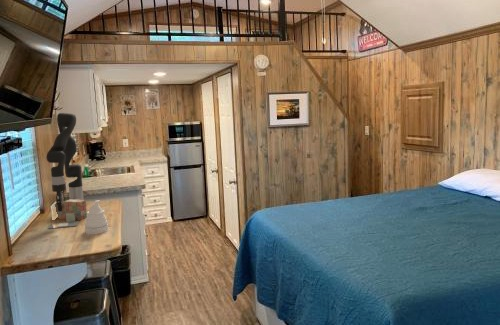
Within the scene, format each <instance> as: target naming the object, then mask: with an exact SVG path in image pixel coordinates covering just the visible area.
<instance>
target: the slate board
mask: <svg viewBox="0 0 500 325" xmlns="http://www.w3.org/2000/svg"><path fill="white" fill-rule="evenodd" d="M58 223H59V225H58V226H57V227H58V228H57V229H62V228H71V227H74V228H75V227H78V224H79V221H78V220H75V221H74V222H66V221H65V222H58ZM52 224H53V223H51V224H50V226H48V230H53V229H52V228H53V226H52Z"/></svg>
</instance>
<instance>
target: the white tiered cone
mask: <svg viewBox="0 0 500 325" xmlns="http://www.w3.org/2000/svg"><path fill="white" fill-rule="evenodd" d="M94 202H95V203H93V204H91V206H89V207H90V208H89V210H88V211H86V212H87V217H86V218H85V222H84V230H85V234H87V235H98V233H99V234H102V233H105V232H107V231H108V230H109V223H108V222H109V221H108V220H107V217H106V215H105V210H104V209H102V207H101V206H100V205H99V204H100V203H101V200H100V199H99V200H95V201H94Z"/></svg>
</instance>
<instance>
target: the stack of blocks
mask: <svg viewBox="0 0 500 325" xmlns="http://www.w3.org/2000/svg"><path fill="white" fill-rule="evenodd" d="M63 202H65V206H66V210H65V211H64V212H57V214H58V218H59V219H60V220H66V213H73V212H75V221H78V220H79V221H82V220H84V219H86V217H87V215H88V214H87V212H88V211H87V201H86V199H84V200H73V199H70V198H69V199H66V200H64V201H63ZM58 218H57V219H58ZM59 219H58V220H59Z"/></svg>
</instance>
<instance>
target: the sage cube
mask: <svg viewBox="0 0 500 325" xmlns="http://www.w3.org/2000/svg"><path fill="white" fill-rule="evenodd" d="M65 220H66V221H65V222H74V221H76V219H75V212H73V213H66V219H65Z"/></svg>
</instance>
